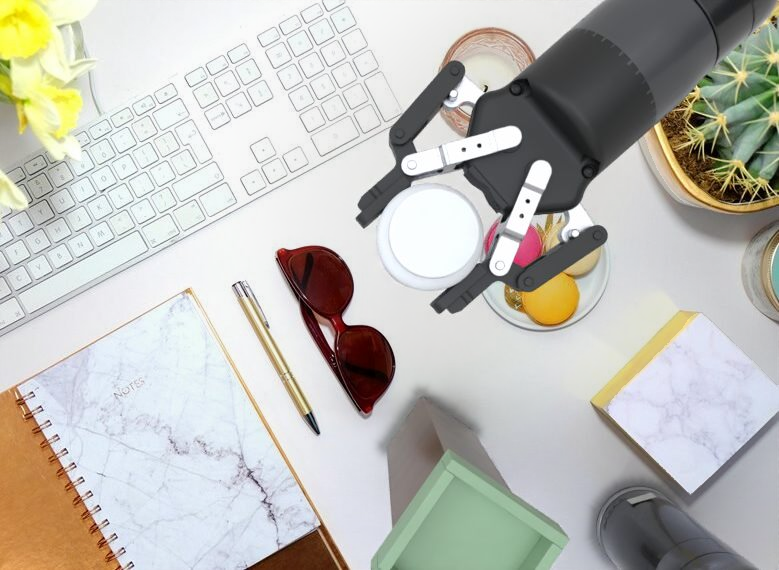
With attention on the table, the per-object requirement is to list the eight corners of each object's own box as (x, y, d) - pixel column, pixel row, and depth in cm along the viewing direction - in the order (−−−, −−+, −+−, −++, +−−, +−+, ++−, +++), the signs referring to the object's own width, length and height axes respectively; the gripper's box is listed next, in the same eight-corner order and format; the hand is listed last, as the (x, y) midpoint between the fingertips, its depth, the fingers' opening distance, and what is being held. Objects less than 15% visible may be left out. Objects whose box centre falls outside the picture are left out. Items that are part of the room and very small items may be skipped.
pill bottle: (470, 204, 44) (501, 178, 33) (461, 293, 44) (488, 298, 33) (381, 195, 44) (381, 166, 33) (372, 284, 44) (369, 286, 33)
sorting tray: (558, 524, 45) (570, 539, 42) (482, 635, 44) (488, 658, 42) (447, 448, 44) (452, 458, 42) (370, 560, 44) (370, 578, 42)
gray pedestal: (473, 431, 72) (535, 528, 44) (437, 482, 72) (477, 612, 44) (421, 395, 72) (452, 471, 44) (386, 447, 72) (393, 555, 44)
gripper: (547, -46, 34) (308, 163, 34) (724, 159, 35) (488, 367, 34) (517, 12, 42) (321, 184, 42) (662, 180, 42) (468, 351, 42)
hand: (397, 266), depth 38 cm, fingers closed on pill bottle, 6 cm apart
